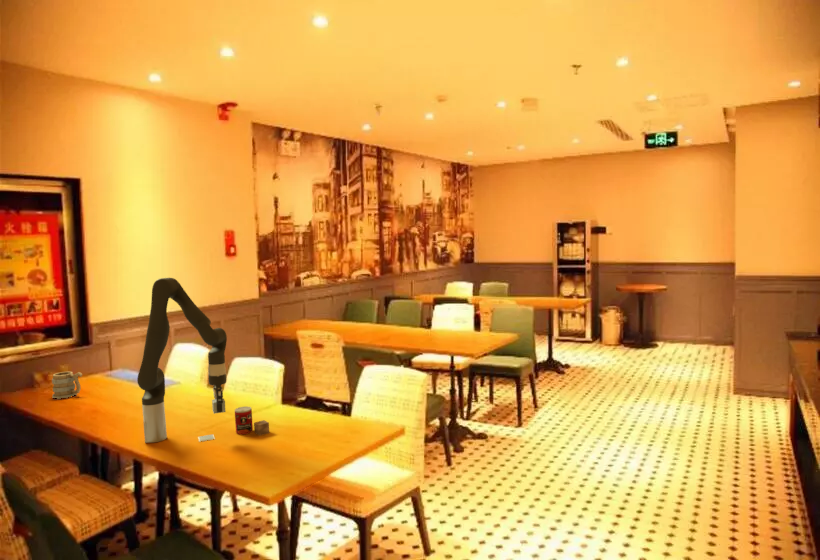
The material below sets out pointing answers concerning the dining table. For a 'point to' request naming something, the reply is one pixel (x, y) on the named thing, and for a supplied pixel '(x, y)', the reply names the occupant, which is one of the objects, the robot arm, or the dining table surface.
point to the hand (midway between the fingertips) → (218, 410)
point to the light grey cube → (216, 406)
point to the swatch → (206, 438)
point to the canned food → (243, 420)
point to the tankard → (65, 384)
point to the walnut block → (261, 427)
